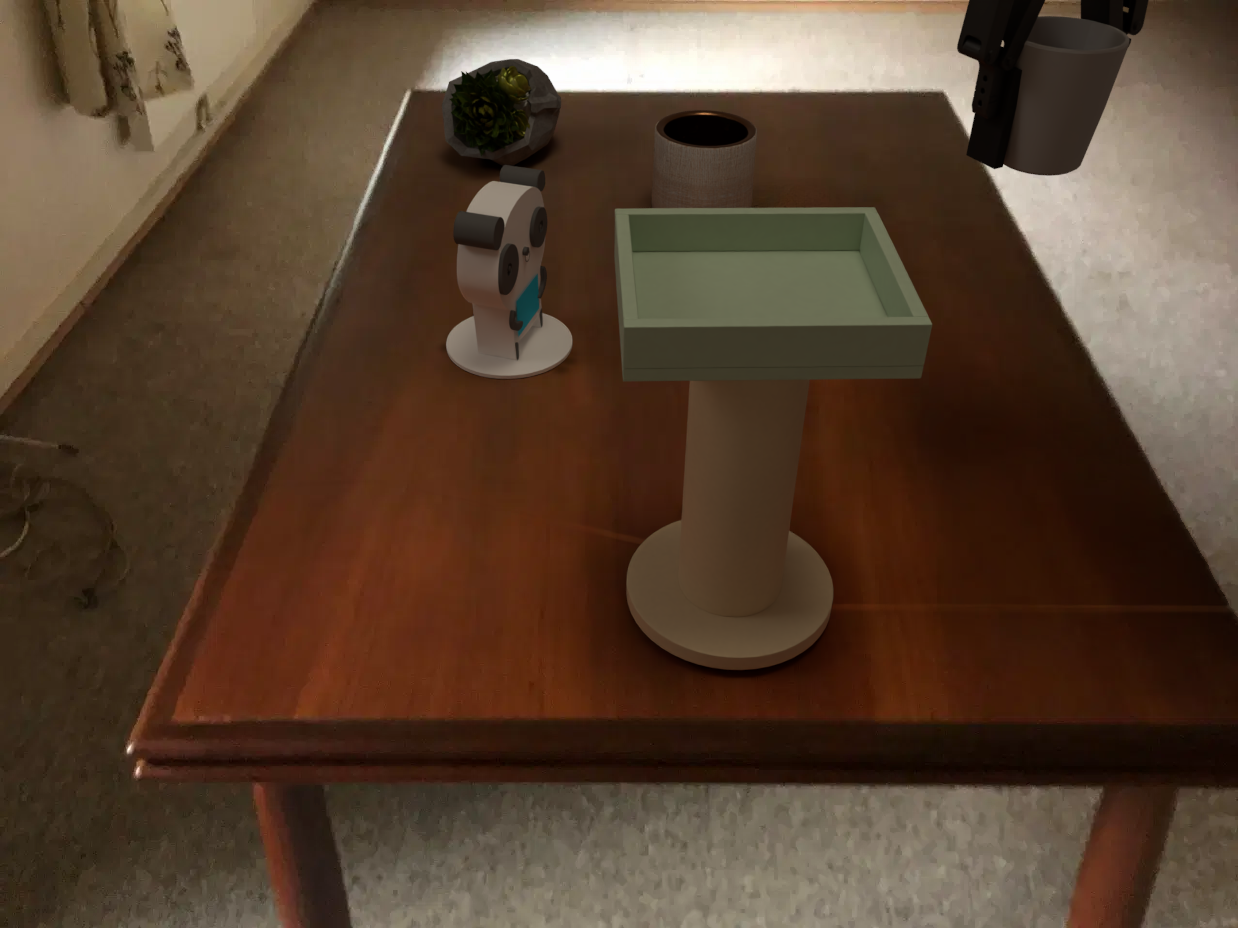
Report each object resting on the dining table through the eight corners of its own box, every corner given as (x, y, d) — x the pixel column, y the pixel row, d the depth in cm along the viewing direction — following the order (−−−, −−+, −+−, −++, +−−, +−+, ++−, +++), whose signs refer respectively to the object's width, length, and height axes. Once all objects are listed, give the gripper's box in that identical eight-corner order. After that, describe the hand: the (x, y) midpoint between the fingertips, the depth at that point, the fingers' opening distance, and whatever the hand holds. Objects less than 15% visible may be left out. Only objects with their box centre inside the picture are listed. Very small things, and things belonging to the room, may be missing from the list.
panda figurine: (543, 393, 97) (538, 232, 88) (422, 369, 100) (404, 210, 90) (589, 323, 106) (588, 171, 97) (476, 303, 109) (465, 153, 99)
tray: (823, 524, 84) (874, 205, 68) (862, 668, 73) (934, 326, 57) (611, 527, 83) (614, 206, 68) (618, 672, 72) (624, 329, 57)
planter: (703, 183, 131) (708, 101, 125) (771, 216, 124) (780, 131, 118) (630, 209, 125) (632, 124, 119) (697, 245, 119) (703, 157, 113)
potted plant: (584, 116, 138) (559, 128, 124) (505, 181, 142) (472, 200, 128) (522, 32, 135) (489, 34, 121) (443, 100, 140) (403, 110, 126)
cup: (997, 183, 75) (1026, 50, 70) (958, 127, 83) (981, 5, 78) (1112, 183, 75) (1149, 51, 70) (1062, 127, 83) (1092, 5, 78)
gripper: (1181, -253, 71) (1085, 110, 85) (939, -239, 63) (877, 158, 77) (1289, -240, 66) (1168, 144, 80) (1039, -223, 58) (953, 199, 72)
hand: (1025, 150), depth 78 cm, fingers closed on cup, 7 cm apart
